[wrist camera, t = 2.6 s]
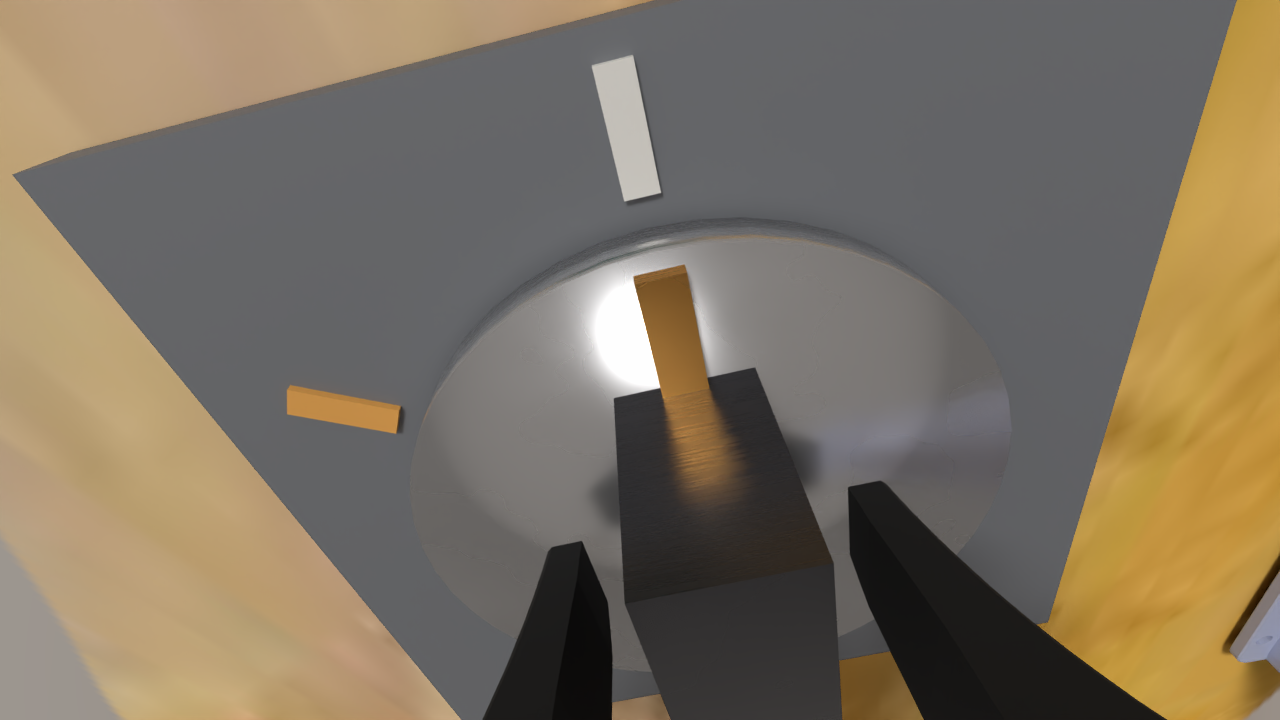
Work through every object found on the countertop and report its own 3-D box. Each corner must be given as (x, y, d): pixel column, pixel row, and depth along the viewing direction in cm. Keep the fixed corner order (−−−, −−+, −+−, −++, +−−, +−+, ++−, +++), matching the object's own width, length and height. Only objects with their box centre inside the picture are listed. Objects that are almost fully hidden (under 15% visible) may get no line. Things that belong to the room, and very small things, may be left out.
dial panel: (1023, 586, 19) (1050, 626, 18) (474, 690, 20) (468, 733, 19) (1203, -143, 9) (1295, -158, 8) (70, 152, 10) (3, 177, 9)
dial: (957, 587, 16) (1084, 806, 12) (529, 669, 17) (509, 900, 13) (1022, 139, 9) (1362, 283, 5) (305, 308, 10) (107, 552, 6)
